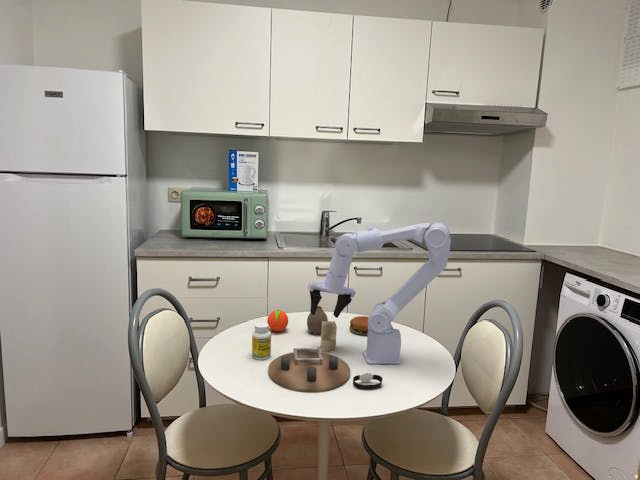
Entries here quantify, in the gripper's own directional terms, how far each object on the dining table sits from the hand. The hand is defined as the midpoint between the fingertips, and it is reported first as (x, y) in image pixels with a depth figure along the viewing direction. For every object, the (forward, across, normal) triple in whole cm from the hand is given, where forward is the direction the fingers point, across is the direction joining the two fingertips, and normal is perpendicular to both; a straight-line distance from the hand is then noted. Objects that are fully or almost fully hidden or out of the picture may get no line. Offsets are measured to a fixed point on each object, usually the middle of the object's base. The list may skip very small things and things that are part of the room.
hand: (323, 314), depth 139 cm
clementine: (+15, +7, -15) cm, 23 cm away
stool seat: (+10, +6, +14) cm, 19 cm away
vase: (+12, -6, -11) cm, 18 cm away
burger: (+9, -21, -9) cm, 24 cm away
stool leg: (+10, -4, +2) cm, 11 cm away
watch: (+7, -5, +25) cm, 27 cm away
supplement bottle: (+15, +16, +2) cm, 22 cm away
